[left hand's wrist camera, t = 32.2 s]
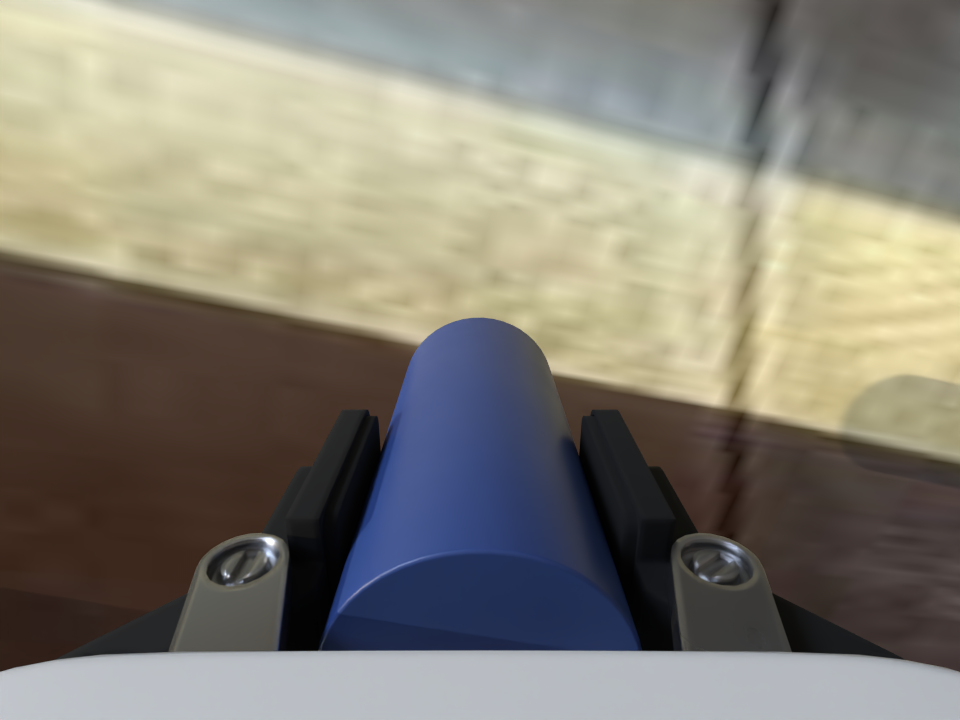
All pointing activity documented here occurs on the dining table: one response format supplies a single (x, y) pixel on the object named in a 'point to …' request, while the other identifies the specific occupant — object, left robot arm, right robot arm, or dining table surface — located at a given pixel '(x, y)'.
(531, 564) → the canister
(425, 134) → the dining table surface
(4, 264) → the dining table surface
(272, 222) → the dining table surface
